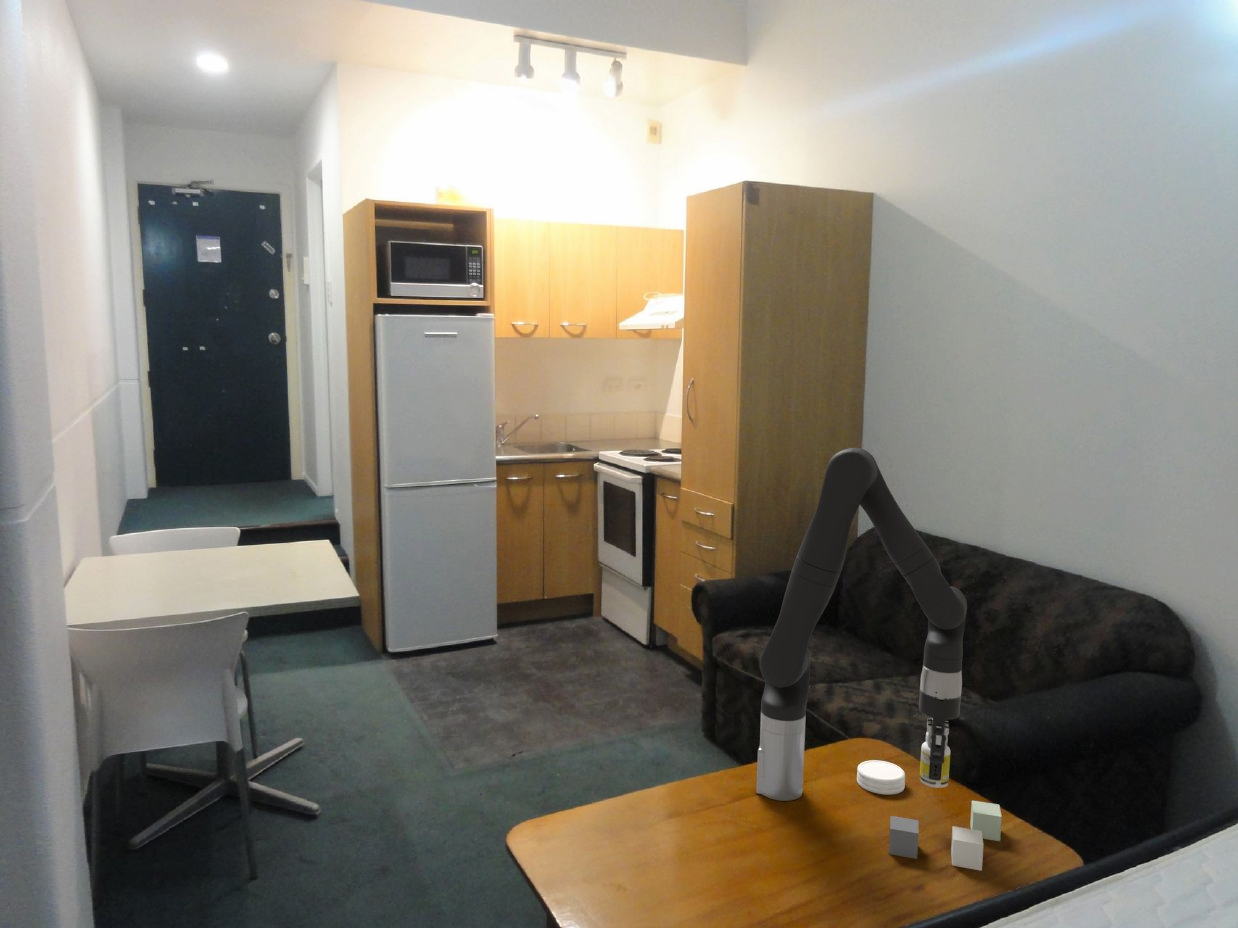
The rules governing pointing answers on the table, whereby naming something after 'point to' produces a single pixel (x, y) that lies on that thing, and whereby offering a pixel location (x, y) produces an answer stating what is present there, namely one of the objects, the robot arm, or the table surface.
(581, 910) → the table surface
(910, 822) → the medium grey block
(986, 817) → the sage block
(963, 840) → the pale grey block
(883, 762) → the coaster
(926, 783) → the supplement bottle
